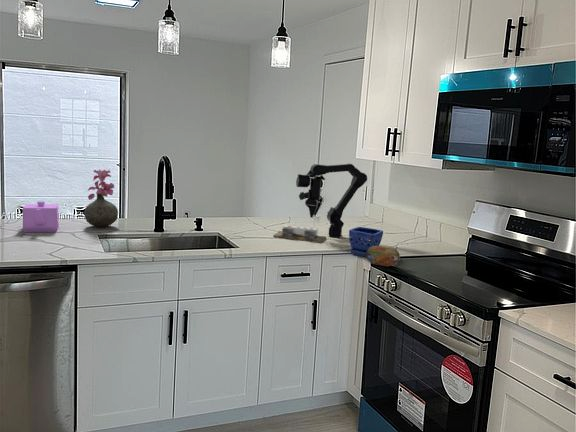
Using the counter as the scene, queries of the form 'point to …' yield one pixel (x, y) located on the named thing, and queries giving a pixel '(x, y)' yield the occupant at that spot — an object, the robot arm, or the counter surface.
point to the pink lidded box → (40, 217)
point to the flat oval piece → (383, 256)
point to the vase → (101, 203)
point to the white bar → (301, 229)
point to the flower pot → (364, 239)
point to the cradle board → (299, 235)
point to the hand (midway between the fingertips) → (313, 216)
